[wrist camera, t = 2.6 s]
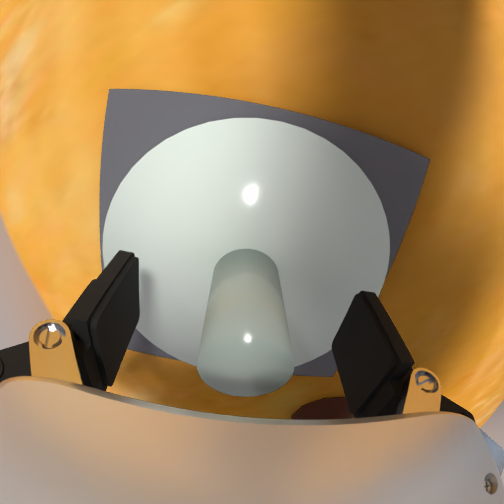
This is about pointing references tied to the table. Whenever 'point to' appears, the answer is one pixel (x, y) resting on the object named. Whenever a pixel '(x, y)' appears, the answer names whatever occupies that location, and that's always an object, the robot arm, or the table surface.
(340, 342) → the robot arm
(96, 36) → the table surface
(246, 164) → the lid
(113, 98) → the mat
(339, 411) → the ice cream bowl
